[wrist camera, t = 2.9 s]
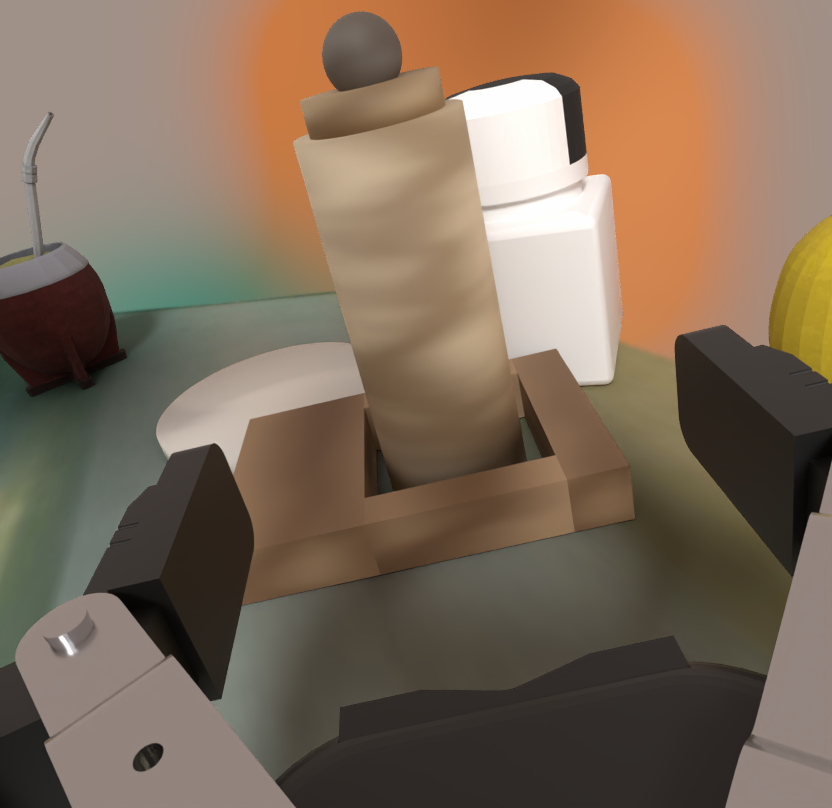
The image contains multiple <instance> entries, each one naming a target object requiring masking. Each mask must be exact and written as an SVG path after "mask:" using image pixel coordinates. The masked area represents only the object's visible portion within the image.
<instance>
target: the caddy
mask: <svg viewBox="0 0 832 808" xmlns="http://www.w3.org/2000/svg"><path fill="white" fill-rule="evenodd" d="M509 365H510V370H511V376H512V381H513V387H514V393H515V398H516V404H517V410H518V415H519V418H521V417H525V418H526V420H527V423H528V425H529V427H530V430H531V432H532V434H533V437H534V439H535V441H536V444H537V446H538V448H539V451H540V453H541V455H542V457H543V458H541V459H536V460H532V461H527V462H523V463H519V464H514V465H510V466H505V467H501V468H496V469H492V470H487V471H483V472H479V473H474V474H470V475H465V476H461V477H456V478H452V479H447V480H443V481H439V482H434V483H430V484H425V485H421V486H416V487H412V488H407V489H403V490H399V491H394V492H390V493H385V494H381V495H378V485H377V455H376V450H381V447H380V443H379V440H378V436H377V433H376V429H375V426H374V422H373V419H372V415H371V412H370V408H369V405H368V401H367V398H366V395H365V393H361V394H357V395H353V396H349V397H344V398H340V399H336V400H331V401H327V402H323V403H318V404H314V405H310V406H305V407H301V408H297V409H292V410H288V411H284V412H279V413H275V414H271V415H266V416H262V417H258V418H253V419H250V420H249V424H248V427H247V430H246V434H245V437H244V440H243V444H242V447H241V451H240V454H239V457H238V461H237V464H236V467H235V471H234V474H233V476H234V478H235V481H236V483H237V486H238V488H239V491H240V493H241V495H242V498H243V500H244V503H245V505H246V507H247V510H248V512H249V515H250V518H251V521H252V525H253V531H254V552H253V556H252V561H251V565H250V570H249V574H248V579H247V584H246V588H245V593H244V597H243V602H242V605H246V604H250V603H255V602H259V601H264V600H268V599H273V598H277V597H282V596H286V595H291V594H296V593H300V592H305V591H309V590H314V589H318V588H323V587H327V586H332V585H336V584H341V583H345V582H350V581H355V580H359V579H364V578H368V577H373V576H377V575H382V574H386V573H391V572H395V571H400V570H405V569H409V568H414V567H418V566H423V565H427V564H432V563H436V562H441V561H445V560H450V559H454V558H459V557H464V556H468V555H473V554H477V553H482V552H486V551H491V550H495V549H500V548H504V547H509V546H514V545H518V544H523V543H527V542H532V541H536V540H541V539H545V538H550V537H554V536H559V535H563V534H568V533H573V532H577V531H582V530H586V529H591V528H595V527H600V526H604V525H609V524H613V523H618V522H623V521H627V520H632V519H635V512H634V502H633V492H632V481H631V471H630V465H629V463H628V462H627V460H626V458H625V457H624V455H623V454H622V452H621V451H620V449H619V447H618V446H617V444H616V443H615V441H614V439H613V438H612V436H611V435H610V433H609V431H608V430H607V428H606V427H605V425H604V423H603V422H602V420H601V419H600V417H599V416H598V414H597V412H596V411H595V409H594V408H593V406H592V404H591V403H590V401H589V400H588V398H587V396H586V395H585V393H584V392H583V390H582V389H581V387H580V385H579V384H578V382H577V381H576V379H575V377H574V376H573V374H572V373H571V371H570V369H569V368H568V366H567V365H566V363H565V362H564V360H563V358H562V357H561V355H560V354H559V352H558V350H557V349H552V350H547V351H543V352H539V353H534V354H530V355H526V356H521V357H517V358H513V359H509Z"/></svg>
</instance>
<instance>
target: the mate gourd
mask: <svg viewBox="0 0 832 808" xmlns="http://www.w3.org/2000/svg"><path fill="white" fill-rule="evenodd" d="M53 116H54V115H53V113H52V112H48V113H47V115H46V116H45V118H44V119H43V121H42V122H41V124H40V125H39V127H38V129H37V130H36V132H35V133H34V134H33V136H32V137H31V139H30V141H29V143H28V146H27V149H26V152H25V155H24V162H22V163H21V171H22V172H21V177H22V181H23V182H24V183H25V190H26V197H27V204H28V211H29V219H30V226H31V234H32V242H33V247H32V248H28V249H25V250H21V251H18V252H15V253H12V254H9V255H6V256H3V257H1V258H0V354H1V355H2V357H3V358H4V360H5V361H6V362H7V363H8V364H9V365H10V366H11V367H12V368H13V369H14V370H15V371H16V372H17V373H18V374H19V375H20V376H21V377H22V378H23V379H24V380H25V381H26V382H27V383H28V385H29V387H27V388H26V391H27V392H28V393H29V394H30V396H35V395H37V394H40V393H42V392H45V391H47V390H50V389H52V388H55V387H57V386H59V385H62V384H64V383H67V382H69V381H73V380H75V381H76V382H77V384H78V385H79V386H80V388H81V389H82V390H84V389H87V388H89V387H92V386H94V385H95V384H94V382H93V380H92V378H91V376H90V375H89V374H90V373H91V372H94V371H96V370H99V369H101V368H103V367H106V366H108V365H111V364H113V363H116V362H118V361H120V360H123V359H125V358H127V356H126V352H125V350H124V349H121V350H119V346H118V340H117V331H116V325H115V319H114V315H113V312H112V309H111V306H110V303H109V300H108V298H107V295H106V292H105V289H104V286H103V284H102V282H101V280H100V278H99V276H98V275H97V273H96V272H95V271H94V269H93V268H92V267H91V266H90V265H89V262H88V260H87V259H86V258H85V257H84V256H82V255H81V254H80V253H79V252H77V251H76V250H74V249H73V248H72V247H70V246H68V245H67V244H65V243H62V242H56V243H50V244H44V245H43V239H42V232H41V223H40V216H39V208H38V200H37V193H36V184H35V183H36V182H37V166H36V165H35V157H36V154H37V150H38V147H39V145H40V143H41V140H42V138H43V136H44V134H45V132H46V130H47V128H48V126H49V124H50V122H51V120H52V118H53Z"/></svg>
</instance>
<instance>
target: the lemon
mask: <svg viewBox="0 0 832 808" xmlns="http://www.w3.org/2000/svg"><path fill="white" fill-rule="evenodd" d="M769 344H770V347H771V348H774V349H777V350H781V351H784V352H787V353H790V354H793V355H794V356H795V357H797V358H798V359H800V360H801V361H802V362H804V363H805V364H807V365H808V366H809V367H811V368H812V371H813V372H814V371H816V372H818V373H819V374H820V375H822V376H823V377H825V378H826V379H827V380H828V382H829V384H830V383H832V215H831V216H829V217H828V218H826V219H824V220H823V221H821V222H820V223H819V224H817V225H816V226H815V227H814V228H812V229H811V230H810V231H809V232H808V233H807V234H806V235H805V236H804V237H803V238H802V239H801V240H800V241H799V242H798V243H797V244H796V245H795V247H794V248H793V250H792V251H791V253H790V254H789V256H788V258H787V260H786V262H785V264H784V266H783V268H782V271H781V274H780V276H779V280H778V283H777V286H776V290H775V294H774V297H773V301H772V306H771V312H770V318H769Z"/></svg>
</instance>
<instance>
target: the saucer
mask: <svg viewBox="0 0 832 808" xmlns="http://www.w3.org/2000/svg"><path fill="white" fill-rule="evenodd" d="M361 393H365V391H364V388H363V384H362V381H361V377H360V374H359V370H358V367H357V363H356V360H355V356H354V353H353V349H352V346H351V344H350V343H342V342H319V343H309V344H302V345H296V346H291V347H286V348H281V349H277V350H273V351H270V352H266V353H263V354H260V355H256V356H254V357H251V358H248V359H245V360H243V361H240V362H238V363H235V364H233V365H230V366H228V367H226V368H224V369H222V370H220V371H218V372H216V373H214V374H212V375H210V376H208V377H206V378H205V379H203V380H201V381H200V382H198V383H196V384H195V385H193V386H192V387H191V388H189V389H188V390H186V391H185V392H184V393H182V394H181V395H180V396H179V397H178V398H176V399H175V400H174V401H173V402H172V403H171V404H170V405H169V406H168V408H167V409H166V410H165V411H164V413H163V414H162V416H161V417H160V419H159V421H158V424H157V428H156V435H157V439H158V441H159V444H160V446H161V448H162V450H163V452H164V454H165V457H166V458H167V460H169V458H170V456H171V454H172V453H175V452H179V451H183V450H187V449H192V448H196V447H200V446H204V445H209V444H213V443H215V444H217V445H219V446H220V448H221V449H222V451H223V453H224V455H225V457H226V459H227V462H228V464H229V466H230V469H231V471H232V474H234V471H235V467H236V464H237V461H238V457H239V454H240V451H241V447H242V444H243V440H244V437H245V434H246V430H247V427H248V424H249V420H250V419H253V418H258V417H262V416H266V415H271V414H275V413H279V412H284V411H288V410H292V409H297V408H301V407H305V406H310V405H314V404H318V403H323V402H327V401H331V400H336V399H340V398H344V397H349V396H353V395H357V394H361Z"/></svg>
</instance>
